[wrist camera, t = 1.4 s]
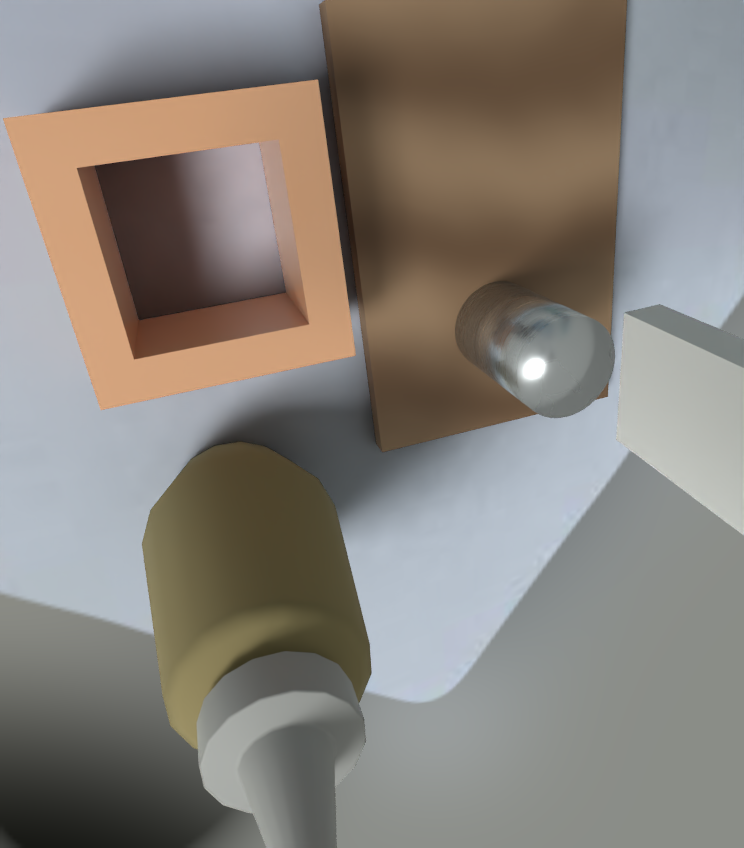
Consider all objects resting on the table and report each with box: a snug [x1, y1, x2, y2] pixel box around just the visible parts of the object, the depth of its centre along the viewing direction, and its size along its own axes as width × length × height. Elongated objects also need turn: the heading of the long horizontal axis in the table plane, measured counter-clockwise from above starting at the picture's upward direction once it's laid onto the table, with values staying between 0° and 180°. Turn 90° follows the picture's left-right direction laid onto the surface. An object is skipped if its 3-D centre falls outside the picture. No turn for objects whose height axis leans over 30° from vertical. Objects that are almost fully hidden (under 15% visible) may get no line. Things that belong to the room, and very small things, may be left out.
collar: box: [3, 80, 356, 410], centre depth 23 cm, size 9×9×5 cm
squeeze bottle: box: [142, 442, 371, 848], centre depth 23 cm, size 8×8×18 cm
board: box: [319, 0, 627, 452], centre depth 28 cm, size 18×12×1 cm, turn 7°
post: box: [455, 281, 615, 418], centre depth 27 cm, size 4×4×6 cm
